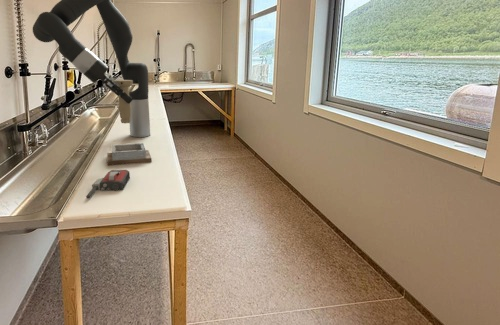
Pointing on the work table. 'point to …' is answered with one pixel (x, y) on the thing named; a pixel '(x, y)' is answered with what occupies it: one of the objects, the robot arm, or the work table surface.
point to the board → (132, 161)
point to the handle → (123, 105)
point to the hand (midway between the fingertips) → (130, 100)
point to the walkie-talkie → (111, 181)
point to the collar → (128, 151)
